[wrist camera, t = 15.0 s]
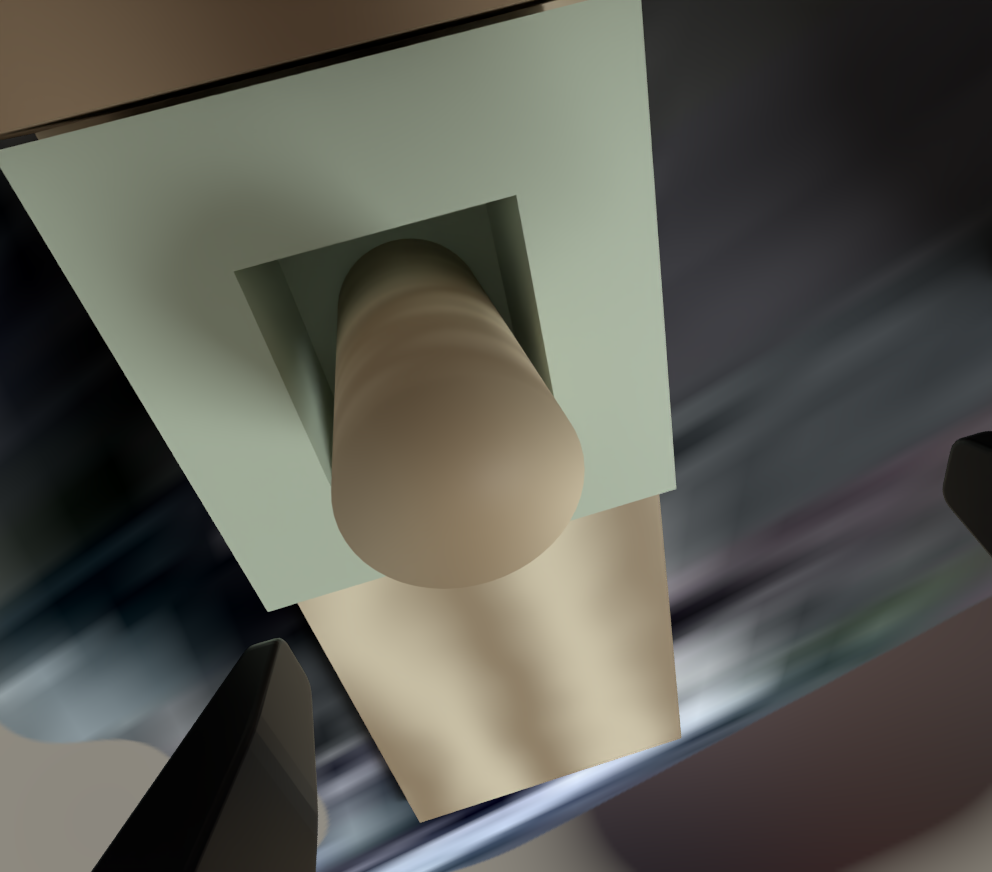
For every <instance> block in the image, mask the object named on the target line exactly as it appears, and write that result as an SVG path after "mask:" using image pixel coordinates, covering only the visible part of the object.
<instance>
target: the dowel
mask: <svg viewBox="0 0 992 872" xmlns="http://www.w3.org/2000/svg"><path fill="white" fill-rule="evenodd" d="M584 472H585V467H584V456H583V452H582V447H581V443H580V441H579V438H578V436H577V434H576V431H575V429H574V428H573V426H572V424H571V423H570V421H569V420H568V418H567V416H566V415H565V413H564V412H563V410H562V409H561V407H560V406H559V404H558V403H557V401H556V400H555V398H554V397H553V395H552V394H551V392H550V390H549V389H548V387H547V386H546V384H545V383H544V381H543V380H542V378H541V377H540V375H539V374H538V372H537V371H536V369H535V367H534V366H533V364H532V363H531V361H530V360H529V358H528V357H527V355H526V354H525V352H524V351H523V349H522V348H521V346H520V345H519V343H518V341H517V340H516V338H515V337H514V335H513V334H512V332H511V331H510V329H509V328H508V326H507V325H506V323H505V322H504V320H503V319H502V317H501V315H500V314H499V312H498V311H497V309H496V308H495V306H494V305H493V303H492V302H491V300H490V299H489V297H488V296H487V294H486V292H485V291H484V289H483V288H482V286H481V285H480V283H479V282H478V280H477V279H476V277H475V276H474V274H473V273H472V271H471V270H470V268H469V267H468V266H467V264H466V263H465V262H464V261H463V260H462V259H461V258H460V257H459V256H458V255H457V254H455V253H454V252H452V251H451V250H449V249H448V248H446V247H444V246H442V245H440V244H437V243H434V242H431V241H427V240H422V239H412V238H410V239H398V240H393V241H389V242H386V243H384V244H381V245H379V246H377V247H375V248H373V249H371V250H370V251H368V252H367V253H365V254H364V255H363V256H362V257H361V258H360V259H359V260H358V261H357V262H356V263H355V264H354V265H353V266H352V268H351V269H350V271H349V272H348V274H347V275H346V277H345V279H344V282H343V284H342V287H341V290H340V294H339V300H338V316H337V343H336V370H335V397H334V424H333V452H332V479H331V503H332V508H333V514H334V518H335V520H336V523H337V526H338V529H339V531H340V533H341V534H342V536H343V538H344V540H345V542H346V543H347V544H348V545H349V547H350V548H351V549H352V551H353V552H354V553H355V554H356V555H357V556H358V557H359V558H360V559H361V560H362V561H363V562H365V563H366V564H367V565H369V566H370V567H371V568H373V569H374V570H376V571H378V572H379V573H381V574H383V575H385V576H387V577H389V578H392V579H394V580H397V581H399V582H402V583H406V584H409V585H413V586H418V587H425V588H436V589H452V588H464V587H470V586H476V585H480V584H484V583H487V582H491V581H494V580H496V579H499V578H502V577H504V576H506V575H509V574H511V573H513V572H515V571H517V570H519V569H520V568H522V567H524V566H525V565H527V564H529V563H530V562H532V561H533V560H534V559H536V558H537V557H538V556H540V555H541V554H542V553H543V552H544V551H545V550H546V549H548V548H549V547H550V546H551V545H552V544H553V543H554V542H555V540H556V539H557V538H558V537H559V536H560V535H561V533H562V532H563V531H564V529H565V528H566V526H567V525H568V523H569V522H570V520H571V518H572V516H573V514H574V512H575V510H576V508H577V506H578V503H579V500H580V497H581V493H582V489H583V484H584Z"/></svg>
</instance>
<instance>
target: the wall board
mask: <svg viewBox="0 0 992 872" xmlns="http://www.w3.org/2000/svg"><path fill="white" fill-rule="evenodd" d="M583 1H587V0H0V140H4V139H8V138H13V137H18V136H23V135H28V134H32V133H35V135H36V136H37V138H38V140H41V139H45V138H49V137H53V136H57V135H60V134H64V133H68V132H72V131H76V130H80V129H84V128H88V127H92V126H96V125H100V124H104V123H108V122H112V121H115V120H119V119H123V118H127V117H131V116H135V115H139V114H143V113H147V112H151V111H155V110H159V109H163V108H167V107H170V106H174V105H178V104H182V103H186V102H190V101H194V100H198V99H202V98H206V97H210V96H214V95H218V94H221V93H225V92H229V91H233V90H237V89H241V88H245V87H249V86H253V85H257V84H261V83H265V82H269V81H273V80H276V79H280V78H284V77H288V76H292V75H296V74H300V73H304V72H308V71H312V70H316V69H320V68H324V67H328V66H331V65H335V64H339V63H343V62H347V61H351V60H355V59H359V58H363V57H367V56H371V55H375V54H379V53H383V52H386V51H390V50H394V49H398V48H402V47H406V46H410V45H414V44H418V43H422V42H426V41H430V40H434V39H437V38H441V37H445V36H449V35H453V34H457V33H461V32H465V31H469V30H473V29H477V28H481V27H485V26H489V25H492V24H496V23H500V22H504V21H508V20H512V19H516V18H520V17H524V16H528V15H532V14H536V13H540V12H544V11H547V10H551V9H555V8H559V7H563V6H567V5H571V4H575V3H579V2H583ZM298 605H299V607H300V609H301V611H302V612H303V614H304V616H305V618H306V619H307V621H308V623H309V625H310V627H311V628H312V630H313V632H314V634H315V636H316V637H317V639H318V641H319V643H320V645H321V646H322V648H323V650H324V652H325V653H326V655H327V657H328V659H329V661H330V662H331V664H332V666H333V668H334V670H335V671H336V673H337V675H338V677H339V678H340V680H341V682H342V684H343V686H344V687H345V689H346V691H347V693H348V695H349V696H350V698H351V700H352V702H353V704H354V705H355V707H356V709H357V711H358V712H359V714H360V716H361V718H362V720H363V721H364V723H365V725H366V727H367V729H368V730H369V732H370V734H371V736H372V738H373V739H374V741H375V743H376V745H377V746H378V748H379V750H380V752H381V754H382V755H383V757H384V759H385V761H386V763H387V764H388V766H389V768H390V770H391V772H392V773H393V775H394V777H395V779H396V780H397V782H398V784H399V786H400V788H401V789H402V791H403V793H404V795H405V797H406V798H407V800H408V802H409V804H410V806H411V807H412V809H413V811H414V813H415V814H416V816H417V818H418V820H419V822H420V823H421V822H424V821H427V820H430V819H433V818H436V817H439V816H442V815H445V814H448V813H451V812H455V811H458V810H461V809H464V808H467V807H470V806H473V805H476V804H479V803H482V802H485V801H488V800H492V799H495V798H498V797H501V796H504V795H507V794H510V793H513V792H516V791H519V790H522V789H526V788H529V787H532V786H535V785H538V784H541V783H544V782H547V781H550V780H553V779H556V778H559V777H563V776H566V775H569V774H572V773H575V772H578V771H581V770H584V769H587V768H590V767H593V766H597V765H600V764H603V763H606V762H609V761H612V760H615V759H618V758H621V757H624V756H627V755H630V754H634V753H637V752H640V751H643V750H646V749H649V748H652V747H655V746H658V745H661V744H664V743H667V742H671V741H674V740H677V739H680V738H681V729H680V718H679V707H678V696H677V685H676V674H675V663H674V652H673V641H672V630H671V619H670V608H669V597H668V586H667V575H666V564H665V553H664V542H663V531H662V520H661V509H660V498H659V494H658V495H654V496H651V497H648V498H644V499H641V500H638V501H634V502H631V503H628V504H624V505H621V506H618V507H614V508H611V509H608V510H605V511H601V512H598V513H595V514H591V515H588V516H585V517H581V518H578V519H575V520H571V521H570V522H569V523H568V525H567V526H566V528H565V529H564V531H563V532H562V533H561V535H560V536H559V537H558V538H557V539H556V540H555V542H554V543H553V544H552V545H551V546H550V547H549V548H548V549H546V550H545V551H544V552H543V553H542V554H541V555H540V556H538V557H537V558H536V559H534V560H533V561H532V562H530V563H529V564H527V565H525V566H524V567H522V568H520V569H519V570H517V571H515V572H513V573H511V574H509V575H506V576H504V577H502V578H499V579H496V580H494V581H491V582H487V583H484V584H480V585H476V586H470V587H464V588H452V589H436V588H425V587H418V586H413V585H409V584H406V583H402V582H399V581H397V580H394V579H392V578H389V577H387V576H385V577H382V578H379V579H375V580H372V581H369V582H365V583H362V584H359V585H355V586H352V587H349V588H346V589H342V590H339V591H336V592H332V593H329V594H326V595H322V596H319V597H316V598H312V599H309V600H306V601H302V602H299V603H298Z"/></svg>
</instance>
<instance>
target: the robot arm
mask: <svg viewBox="0 0 992 872" xmlns="http://www.w3.org/2000/svg"><path fill="white" fill-rule="evenodd" d="M943 495H944V498H945V501H946V502H947V504H948V506H949V507H950V508H951V510H952V511H953V512H954V513H955V514H956V516H957V517H958V518H959V519H960V520H961V522H962V523H963V524H964V525H965V526H966V528H967V529H968V530H969V531H970V532H971V534H972V535H973V536H974V537H975V538H976V540H977V541H978V542H979V543H980V544H981V545H982V547H983V548H984V549H985V550H986V551H987V553H988V554H989V555H990V556H991V557H992V431H985V432H980V433H977V434H974V435H970V436H967V437H963V438H960V439H958V440H957V441H956V442H955V443H954V444H953V445H952V448H951V451H950V455H949V460H948V464H947V469H946V473H945V478H944V482H943ZM317 832H318V803H317V783H316V765H315V748H314V730H313V713H312V696H311V689H310V685H309V681H308V679H307V676H306V675H305V673H304V671H303V669H302V668H301V666H300V664H299V663H298V661H297V659H296V658H295V656H294V654H293V653H292V651H291V649H290V648H289V646H288V644H287V643H286V642H285V641H284V640H283V639H280V638H276V639H272V640H269V641H265V642H262V643H258V644H255V645H252V646H250V647H249V648H248V649H246V650H245V652H244V653H243V654H242V656H241V657H240V659H239V660H238V662H237V663H236V664H235V666H234V667H233V669H232V670H231V672H230V673H229V674H228V676H227V677H226V679H225V680H224V682H223V683H222V684H221V686H220V687H219V689H218V690H217V692H216V693H215V695H214V696H213V697H212V699H211V700H210V702H209V703H208V705H207V706H206V707H205V709H204V710H203V712H202V713H201V715H200V716H199V718H198V719H197V720H196V722H195V723H194V725H193V726H192V728H191V729H190V730H189V732H188V733H187V735H186V736H185V738H184V739H183V741H182V742H181V743H180V745H179V746H178V748H177V749H176V751H175V752H174V753H173V755H172V756H171V758H170V759H169V761H168V762H167V764H166V765H165V766H164V768H163V769H162V771H161V772H160V774H159V775H158V777H157V778H156V779H155V781H154V782H153V784H152V785H151V787H150V788H149V789H148V791H147V792H146V794H145V795H144V797H143V798H142V799H141V801H140V803H139V804H138V805H137V807H136V808H135V810H134V811H133V812H132V814H131V815H130V817H129V818H128V820H127V821H126V823H125V824H124V825H123V827H122V828H121V830H120V831H119V833H118V834H117V835H116V837H115V839H114V840H113V841H112V843H111V844H110V845H109V847H108V848H107V850H106V851H105V853H104V854H103V856H102V857H101V858H100V860H99V861H98V863H97V864H96V866H95V867H94V868H93V870H92V871H91V872H316V856H317V835H318V833H317Z"/></svg>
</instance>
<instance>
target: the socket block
mask: <svg viewBox="0 0 992 872" xmlns="http://www.w3.org/2000/svg"><path fill="white" fill-rule="evenodd" d="M0 168H1V170H2V171H3V173H4V175H5V176H6V178H7V180H8V181H9V183H10V185H11V186H12V188H13V190H14V191H15V193H16V195H17V196H18V198H19V200H20V201H21V203H22V205H23V206H24V208H25V210H26V211H27V213H28V214H29V216H30V218H31V219H32V221H33V223H34V224H35V226H36V228H37V229H38V231H39V233H40V234H41V236H42V238H43V239H44V241H45V243H46V244H47V246H48V248H49V249H50V251H51V253H52V254H53V256H54V258H55V259H56V261H57V263H58V264H59V266H60V268H61V269H62V271H63V273H64V274H65V276H66V278H67V279H68V281H69V283H70V284H71V286H72V288H73V289H74V291H75V292H76V294H77V296H78V297H79V299H80V301H81V302H82V304H83V306H84V307H85V309H86V311H87V312H88V314H89V316H90V317H91V319H92V321H93V322H94V324H95V326H96V327H97V329H98V331H99V332H100V334H101V336H102V337H103V339H104V341H105V342H106V344H107V346H108V347H109V349H110V351H111V352H112V354H113V356H114V357H115V359H116V361H117V362H118V364H119V365H120V367H121V369H122V370H123V372H124V374H125V375H126V377H127V379H128V380H129V382H130V384H131V385H132V387H133V389H134V390H135V392H136V394H137V395H138V397H139V399H140V400H141V402H142V404H143V405H144V407H145V409H146V410H147V412H148V414H149V415H150V417H151V419H152V420H153V422H154V424H155V425H156V427H157V429H158V430H159V432H160V434H161V435H162V437H163V439H164V440H165V442H166V443H167V445H168V447H169V448H170V450H171V452H172V453H173V455H174V457H175V458H176V460H177V462H178V463H179V465H180V467H181V468H182V470H183V472H184V473H185V475H186V477H187V478H188V480H189V482H190V483H191V485H192V487H193V488H194V490H195V492H196V493H197V495H198V497H199V498H200V500H201V502H202V503H203V505H204V507H205V508H206V510H207V512H208V513H209V515H210V517H211V518H212V520H213V521H214V523H215V525H216V526H217V528H218V530H219V531H220V533H221V535H222V536H223V538H224V540H225V541H226V543H227V545H228V546H229V548H230V550H231V551H232V553H233V555H234V556H235V558H236V560H237V561H238V563H239V565H240V566H241V568H242V570H243V571H244V573H245V575H246V576H247V578H248V580H249V581H250V583H251V585H252V586H253V588H254V590H255V591H256V593H257V594H258V596H259V598H260V599H261V601H262V603H263V604H264V606H265V608H266V609H267V611H268V612H269V611H272V610H276V609H279V608H282V607H286V606H289V605H292V604H296V603H299V602H302V601H306V600H309V599H312V598H316V597H319V596H322V595H326V594H329V593H332V592H336V591H339V590H342V589H346V588H349V587H352V586H355V585H359V584H362V583H365V582H369V581H372V580H375V579H379V578H382V577H385V575H383V574H381V573H379V572H378V571H376V570H374V569H373V568H371V567H370V566H369V565H367V564H366V563H365V562H363V561H362V560H361V559H360V558H359V557H358V556H357V555H356V554H355V553H354V552H353V551H352V549H351V548H350V547H349V545H348V544H347V543H346V542H345V540H344V538H343V536H342V534H341V533H340V531H339V529H338V526H337V523H336V520H335V518H334V514H333V508H332V503H331V479H332V452H333V424H334V397H335V370H336V343H337V316H338V300H339V294H340V290H341V287H342V284H343V282H344V279H345V277H346V275H347V274H348V272H349V271H350V269H351V268H352V266H353V265H354V264H355V263H356V262H357V261H358V260H359V259H360V258H361V257H362V256H363V255H364V254H365V253H367V252H368V251H370V250H371V249H373V248H375V247H377V246H379V245H381V244H384V243H386V242H389V241H393V240H398V239H410V238H412V239H422V240H427V241H431V242H434V243H437V244H440V245H442V246H444V247H446V248H448V249H449V250H451V251H452V252H454V253H455V254H457V255H458V256H459V257H460V258H461V259H462V260H463V261H464V262H465V263H466V264H467V266H468V267H469V268H470V270H471V271H472V273H473V274H474V276H475V277H476V279H477V280H478V282H479V283H480V285H481V286H482V288H483V289H484V291H485V292H486V294H487V296H488V297H489V299H490V300H491V302H492V303H493V305H494V306H495V308H496V309H497V311H498V312H499V314H500V315H501V317H502V319H503V320H504V322H505V323H506V325H507V326H508V328H509V329H510V331H511V332H512V334H513V335H514V337H515V338H516V340H517V341H518V343H519V345H520V346H521V348H522V349H523V351H524V352H525V354H526V355H527V357H528V358H529V360H530V361H531V363H532V364H533V366H534V367H535V369H536V371H537V372H538V374H539V375H540V377H541V378H542V380H543V381H544V383H545V384H546V386H547V387H548V389H549V390H550V392H551V394H552V395H553V397H554V398H555V400H556V401H557V403H558V404H559V406H560V407H561V409H562V410H563V412H564V413H565V415H566V416H567V418H568V420H569V421H570V423H571V424H572V426H573V428H574V429H575V431H576V434H577V436H578V438H579V441H580V443H581V447H582V452H583V456H584V467H585V472H584V484H583V489H582V493H581V497H580V500H579V503H578V506H577V508H576V510H575V512H574V514H573V516H572V518H571V520H575V519H578V518H581V517H585V516H588V515H591V514H595V513H598V512H601V511H605V510H608V509H611V508H614V507H618V506H621V505H624V504H628V503H631V502H634V501H638V500H641V499H644V498H648V497H651V496H654V495H658V494H661V493H664V492H668V491H671V490H674V489H676V479H675V465H674V452H673V438H672V424H671V410H670V396H669V382H668V368H667V354H666V340H665V326H664V312H663V298H662V284H661V270H660V256H659V242H658V229H657V215H656V201H655V187H654V173H653V159H652V145H651V131H650V117H649V103H648V89H647V75H646V61H645V47H644V33H643V19H642V6H641V0H587V1H583V2H579V3H575V4H571V5H567V6H563V7H559V8H555V9H551V10H547V11H544V12H540V13H536V14H532V15H528V16H524V17H520V18H516V19H512V20H508V21H504V22H500V23H496V24H492V25H489V26H485V27H481V28H477V29H473V30H469V31H465V32H461V33H457V34H453V35H449V36H445V37H441V38H437V39H434V40H430V41H426V42H422V43H418V44H414V45H410V46H406V47H402V48H398V49H394V50H390V51H386V52H383V53H379V54H375V55H371V56H367V57H363V58H359V59H355V60H351V61H347V62H343V63H339V64H335V65H331V66H328V67H324V68H320V69H316V70H312V71H308V72H304V73H300V74H296V75H292V76H288V77H284V78H280V79H276V80H273V81H269V82H265V83H261V84H257V85H253V86H249V87H245V88H241V89H237V90H233V91H229V92H225V93H221V94H218V95H214V96H210V97H206V98H202V99H198V100H194V101H190V102H186V103H182V104H178V105H174V106H170V107H167V108H163V109H159V110H155V111H151V112H147V113H143V114H139V115H135V116H131V117H127V118H123V119H119V120H115V121H112V122H108V123H104V124H100V125H96V126H92V127H88V128H84V129H80V130H76V131H72V132H68V133H64V134H60V135H57V136H53V137H49V138H45V139H41V140H37V141H33V142H29V143H25V144H21V145H17V146H13V147H9V148H5V149H2V150H0ZM571 520H570V521H571Z"/></svg>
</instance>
